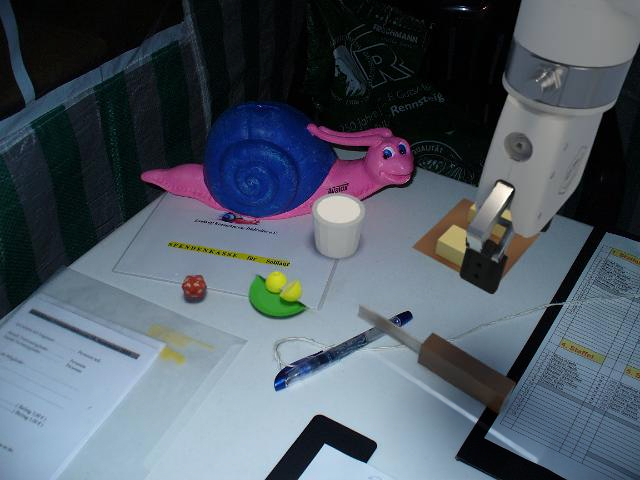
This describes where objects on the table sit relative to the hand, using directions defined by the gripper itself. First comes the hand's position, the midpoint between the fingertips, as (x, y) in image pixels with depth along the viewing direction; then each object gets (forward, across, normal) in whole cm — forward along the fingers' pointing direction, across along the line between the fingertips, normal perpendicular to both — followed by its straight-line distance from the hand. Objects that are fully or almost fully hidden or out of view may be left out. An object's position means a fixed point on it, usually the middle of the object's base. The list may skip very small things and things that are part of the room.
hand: (505, 252), depth 51 cm
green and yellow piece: (+20, -3, +24) cm, 32 cm away
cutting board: (+20, +21, +10) cm, 31 cm away
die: (+20, -10, +32) cm, 39 cm away
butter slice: (+19, +25, +10) cm, 33 cm away
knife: (+20, 0, +5) cm, 21 cm away
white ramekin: (+20, +8, +24) cm, 33 cm away
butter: (+19, +17, +10) cm, 28 cm away
